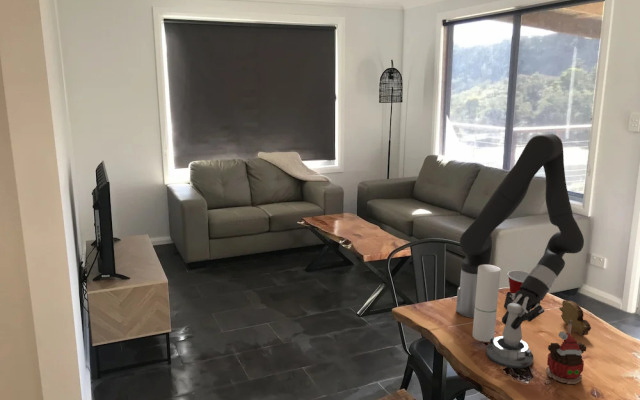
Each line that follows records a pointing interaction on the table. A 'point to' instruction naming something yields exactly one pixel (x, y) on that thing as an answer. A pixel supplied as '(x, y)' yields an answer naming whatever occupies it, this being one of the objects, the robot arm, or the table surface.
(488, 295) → the cylindrical container
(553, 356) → the cake
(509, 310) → the salt shaker
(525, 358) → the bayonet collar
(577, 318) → the wooden carving
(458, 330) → the table surface
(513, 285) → the plastic cup
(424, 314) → the table surface
